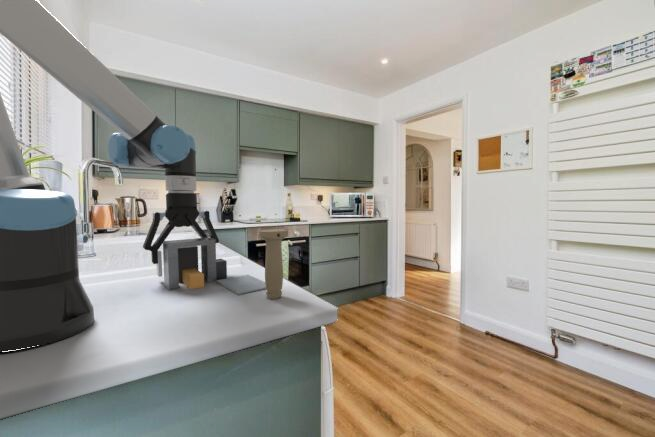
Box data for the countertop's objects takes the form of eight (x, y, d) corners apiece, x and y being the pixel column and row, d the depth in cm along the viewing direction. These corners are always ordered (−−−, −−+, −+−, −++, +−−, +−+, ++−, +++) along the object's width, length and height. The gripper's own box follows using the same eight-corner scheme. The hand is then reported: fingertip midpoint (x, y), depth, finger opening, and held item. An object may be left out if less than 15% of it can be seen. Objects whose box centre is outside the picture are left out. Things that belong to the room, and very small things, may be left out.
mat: (238, 295, 69) (238, 293, 68) (216, 281, 79) (216, 280, 79) (273, 287, 74) (273, 285, 74) (248, 276, 85) (248, 274, 85)
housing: (169, 289, 72) (167, 243, 72) (164, 285, 76) (162, 241, 75) (227, 279, 82) (226, 238, 81) (220, 275, 85) (219, 236, 85)
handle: (256, 297, 67) (255, 230, 66) (281, 291, 71) (281, 228, 70) (265, 303, 63) (264, 232, 62) (292, 297, 67) (291, 230, 66)
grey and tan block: (207, 286, 75) (206, 250, 75) (186, 289, 72) (185, 252, 72) (192, 274, 87) (191, 243, 86) (172, 277, 84) (171, 245, 83)
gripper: (131, 191, 71) (135, 282, 72) (229, 192, 86) (231, 267, 87) (127, 192, 76) (131, 276, 78) (220, 192, 92) (221, 263, 93)
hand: (184, 271), depth 83 cm, fingers open, 11 cm apart
